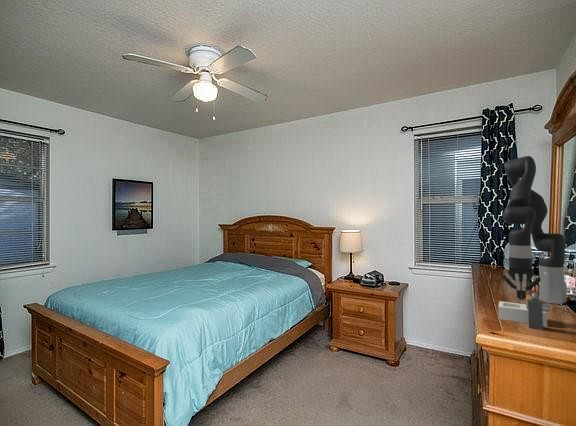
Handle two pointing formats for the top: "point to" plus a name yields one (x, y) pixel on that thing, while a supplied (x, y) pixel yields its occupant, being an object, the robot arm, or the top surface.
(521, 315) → the socket block
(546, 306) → the shutter
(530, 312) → the plug
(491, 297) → the top surface
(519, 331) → the top surface
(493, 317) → the top surface
